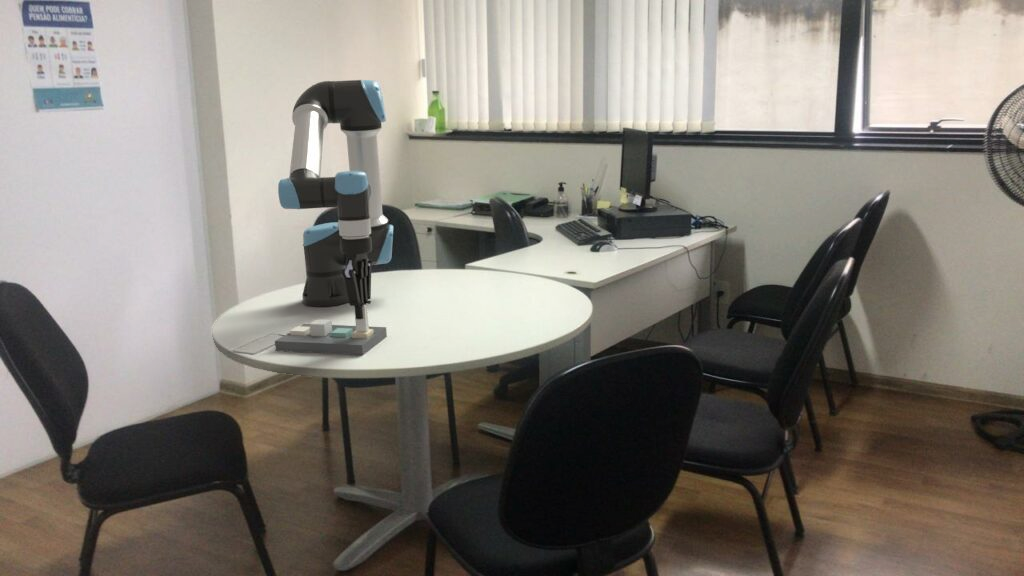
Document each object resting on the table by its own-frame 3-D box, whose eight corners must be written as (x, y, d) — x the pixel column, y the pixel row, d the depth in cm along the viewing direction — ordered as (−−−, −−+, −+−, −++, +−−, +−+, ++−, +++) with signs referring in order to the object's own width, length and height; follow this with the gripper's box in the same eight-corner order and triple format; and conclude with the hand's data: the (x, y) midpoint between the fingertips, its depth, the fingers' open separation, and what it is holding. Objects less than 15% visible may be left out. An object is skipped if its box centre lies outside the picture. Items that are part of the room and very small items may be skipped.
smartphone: (230, 351, 195) (271, 333, 209) (230, 353, 195) (271, 335, 209) (254, 353, 192) (294, 335, 206) (254, 356, 192) (294, 338, 206)
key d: (359, 340, 200) (358, 328, 199) (374, 341, 199) (373, 329, 198) (352, 345, 196) (351, 333, 195) (367, 346, 195) (366, 333, 194)
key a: (298, 337, 203) (297, 326, 203) (312, 338, 203) (311, 326, 202) (290, 342, 200) (289, 330, 199) (305, 343, 199) (304, 331, 198)
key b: (317, 331, 202) (316, 319, 201) (332, 331, 201) (331, 320, 200) (310, 335, 198) (309, 323, 197) (325, 336, 197) (324, 324, 196)
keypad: (304, 332, 209) (304, 323, 208) (386, 336, 204) (386, 327, 203) (275, 350, 195) (274, 341, 194) (363, 355, 190) (362, 345, 189)
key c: (338, 339, 201) (337, 327, 200) (353, 340, 200) (352, 328, 199) (331, 344, 197) (330, 332, 196) (346, 345, 196) (345, 333, 196)
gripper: (352, 231, 198) (359, 322, 203) (328, 240, 186) (337, 337, 191) (380, 231, 196) (386, 323, 202) (358, 241, 184) (366, 338, 189)
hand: (362, 330), depth 196 cm, fingers closed
